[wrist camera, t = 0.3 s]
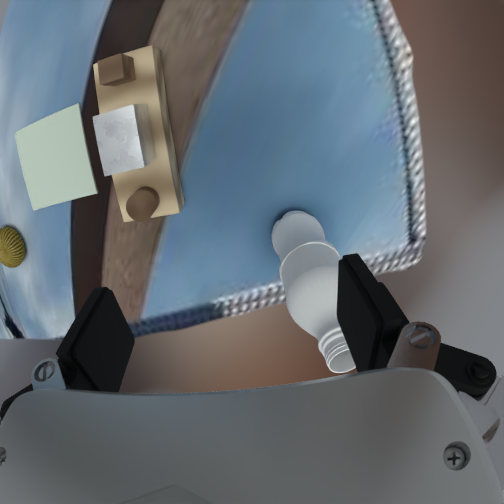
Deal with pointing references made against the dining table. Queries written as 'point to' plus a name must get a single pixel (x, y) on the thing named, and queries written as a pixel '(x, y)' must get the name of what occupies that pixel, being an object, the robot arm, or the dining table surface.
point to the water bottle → (312, 284)
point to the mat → (56, 158)
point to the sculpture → (11, 247)
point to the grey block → (124, 139)
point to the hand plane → (154, 95)
